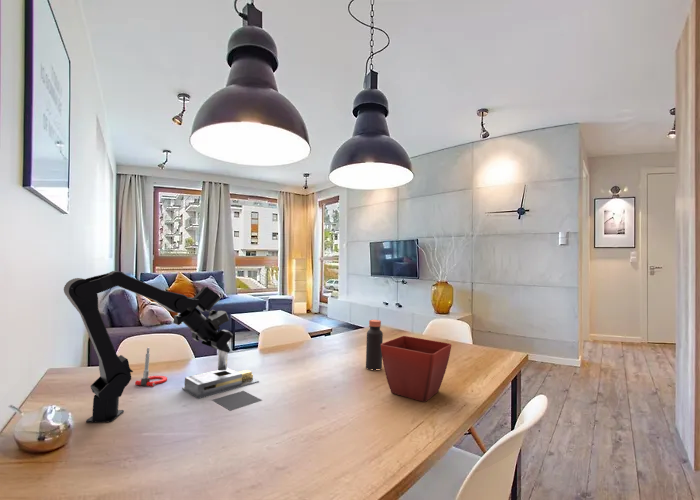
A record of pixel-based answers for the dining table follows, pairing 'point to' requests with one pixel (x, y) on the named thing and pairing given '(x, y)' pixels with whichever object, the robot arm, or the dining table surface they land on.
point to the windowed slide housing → (217, 382)
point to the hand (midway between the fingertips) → (226, 350)
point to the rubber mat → (236, 400)
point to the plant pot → (415, 366)
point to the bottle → (374, 345)
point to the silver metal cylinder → (222, 360)
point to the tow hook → (146, 380)
